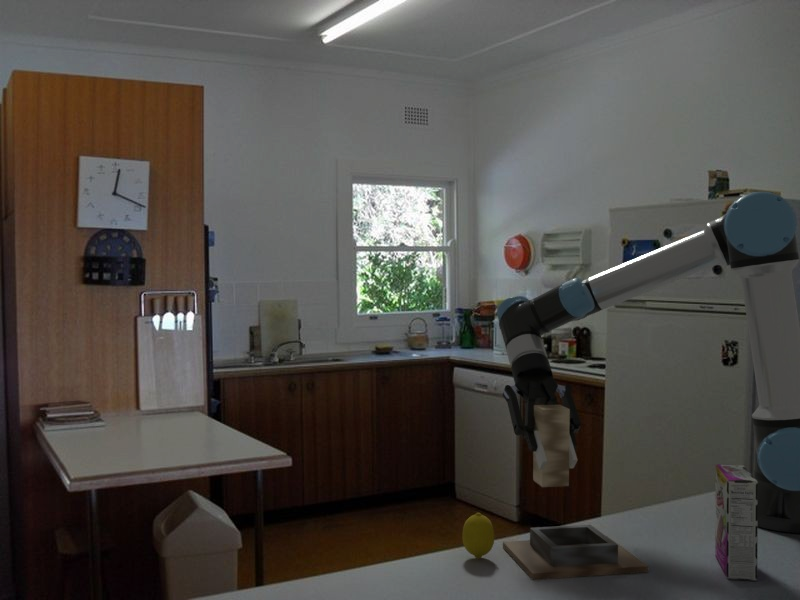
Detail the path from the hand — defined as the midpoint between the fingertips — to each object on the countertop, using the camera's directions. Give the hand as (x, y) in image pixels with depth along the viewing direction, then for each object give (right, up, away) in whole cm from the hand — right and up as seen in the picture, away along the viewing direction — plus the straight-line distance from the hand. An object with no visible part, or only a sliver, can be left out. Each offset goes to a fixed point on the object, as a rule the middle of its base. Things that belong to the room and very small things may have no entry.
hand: (558, 464), depth 145 cm
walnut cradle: (+1, -15, -5) cm, 16 cm away
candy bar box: (+28, -16, -9) cm, 33 cm away
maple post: (-1, -4, +4) cm, 6 cm away
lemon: (-15, -16, -5) cm, 22 cm away
